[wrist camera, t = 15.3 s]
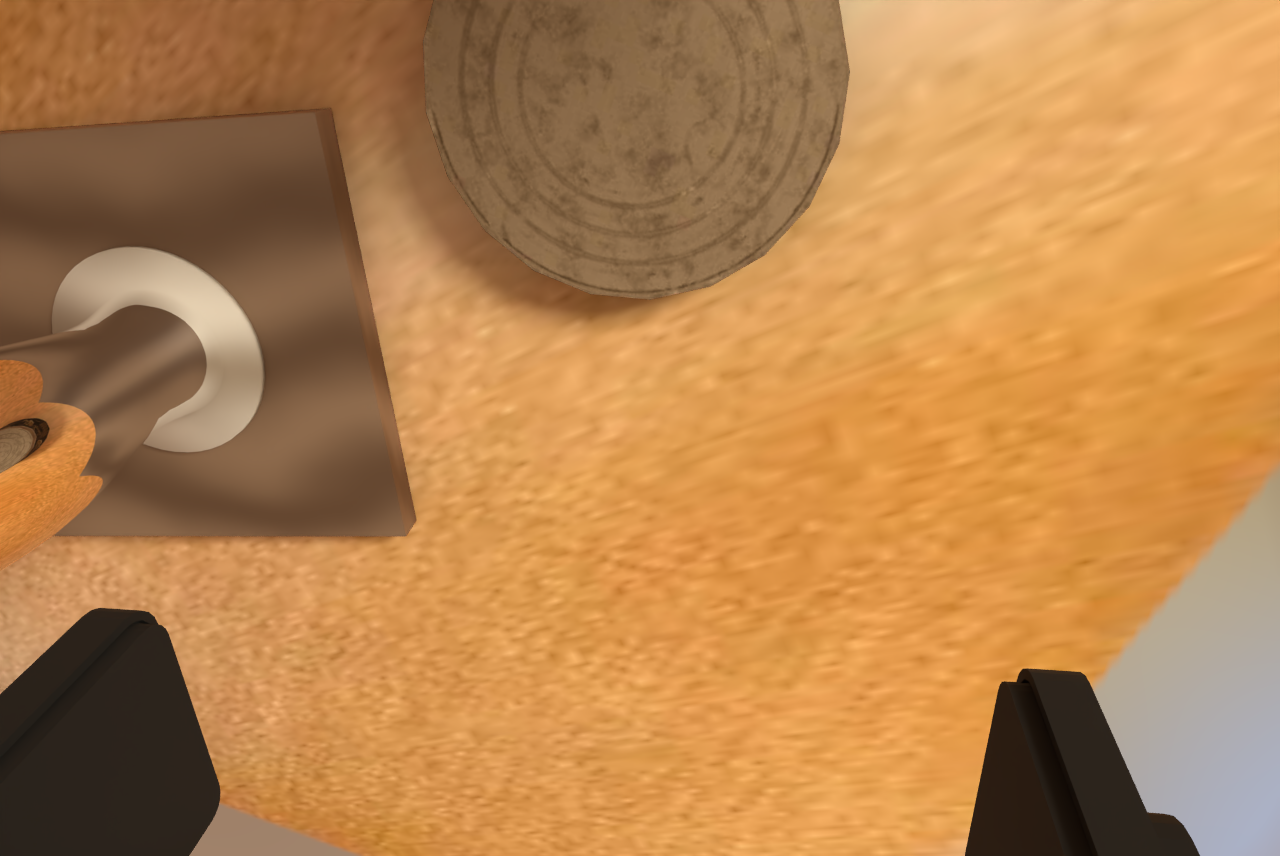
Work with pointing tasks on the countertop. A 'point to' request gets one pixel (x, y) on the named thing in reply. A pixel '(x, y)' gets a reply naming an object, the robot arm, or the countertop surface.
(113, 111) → the countertop surface
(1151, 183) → the countertop surface
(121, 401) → the shiny metal tumbler
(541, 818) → the countertop surface
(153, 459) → the coaster board
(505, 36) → the brown flat disc
